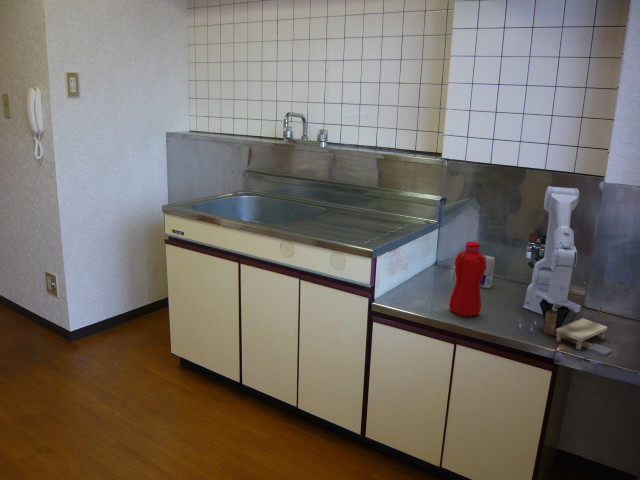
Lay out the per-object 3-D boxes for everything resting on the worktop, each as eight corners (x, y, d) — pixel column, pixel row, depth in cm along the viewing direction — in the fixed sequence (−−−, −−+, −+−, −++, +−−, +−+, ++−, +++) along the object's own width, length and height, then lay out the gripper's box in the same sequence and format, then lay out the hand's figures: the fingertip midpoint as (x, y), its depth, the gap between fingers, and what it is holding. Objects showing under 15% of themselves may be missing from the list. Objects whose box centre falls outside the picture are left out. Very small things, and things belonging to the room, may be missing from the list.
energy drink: (476, 283, 219) (479, 254, 216) (489, 284, 218) (493, 255, 215) (477, 287, 214) (481, 258, 211) (491, 289, 213) (496, 259, 210)
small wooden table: (554, 340, 170) (556, 328, 169) (580, 329, 179) (582, 318, 178) (579, 350, 164) (581, 338, 162) (605, 338, 173) (607, 326, 172)
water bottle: (441, 309, 190) (449, 240, 183) (466, 305, 194) (475, 238, 188) (457, 319, 182) (466, 247, 175) (483, 315, 186) (493, 245, 180)
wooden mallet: (543, 331, 176) (546, 311, 174) (548, 329, 178) (552, 309, 176) (587, 349, 165) (592, 327, 163) (593, 346, 167) (597, 325, 165)
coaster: (586, 351, 165) (587, 347, 164) (594, 347, 168) (595, 343, 167) (603, 358, 161) (604, 353, 160) (611, 354, 164) (612, 349, 163)
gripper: (531, 280, 175) (524, 320, 178) (575, 295, 164) (567, 336, 167) (543, 277, 179) (536, 315, 182) (586, 290, 168) (579, 331, 171)
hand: (552, 325), depth 175 cm, fingers closed on wooden mallet, 3 cm apart
